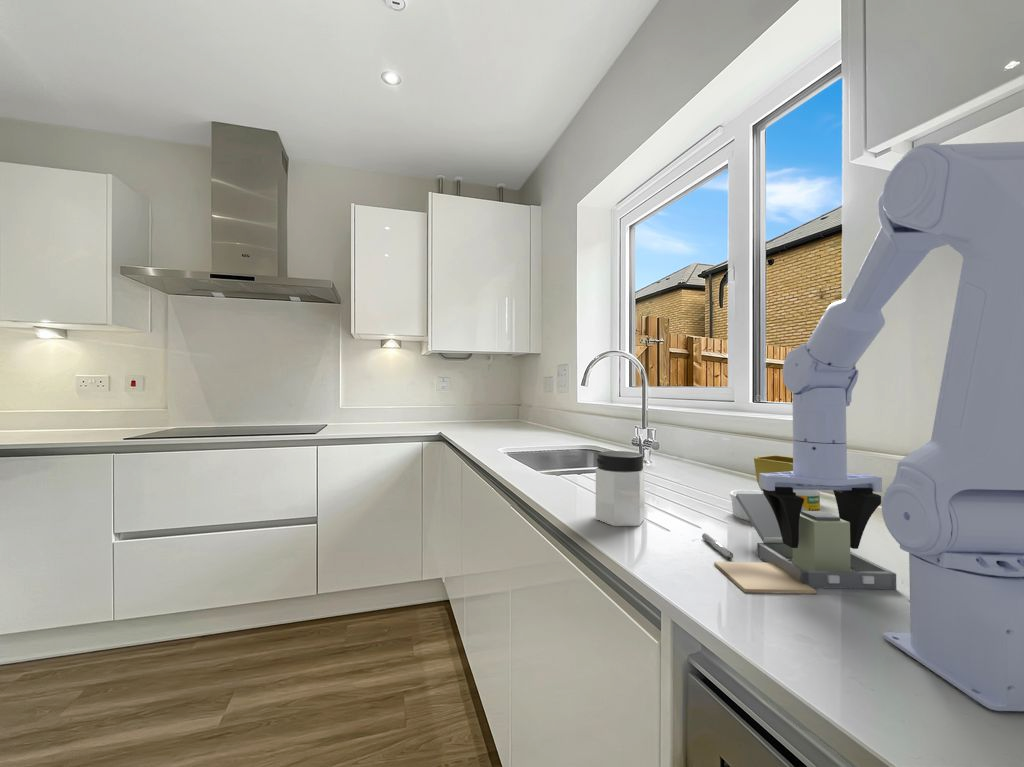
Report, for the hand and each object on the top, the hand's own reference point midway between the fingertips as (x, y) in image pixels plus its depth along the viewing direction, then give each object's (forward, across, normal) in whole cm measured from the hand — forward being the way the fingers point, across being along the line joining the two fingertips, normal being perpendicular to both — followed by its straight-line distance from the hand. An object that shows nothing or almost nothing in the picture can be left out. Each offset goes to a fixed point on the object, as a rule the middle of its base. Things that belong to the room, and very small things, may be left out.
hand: (819, 545), depth 56 cm
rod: (+3, +10, -7) cm, 13 cm away
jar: (+3, +21, -22) cm, 30 cm away
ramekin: (+4, -5, -24) cm, 25 cm away
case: (+3, 0, 0) cm, 3 cm away
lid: (+3, 0, -9) cm, 9 cm away
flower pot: (+4, -18, -37) cm, 42 cm away
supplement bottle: (+3, -8, -16) cm, 19 cm away
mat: (+3, +9, +3) cm, 10 cm away
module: (+3, 0, 0) cm, 3 cm away
